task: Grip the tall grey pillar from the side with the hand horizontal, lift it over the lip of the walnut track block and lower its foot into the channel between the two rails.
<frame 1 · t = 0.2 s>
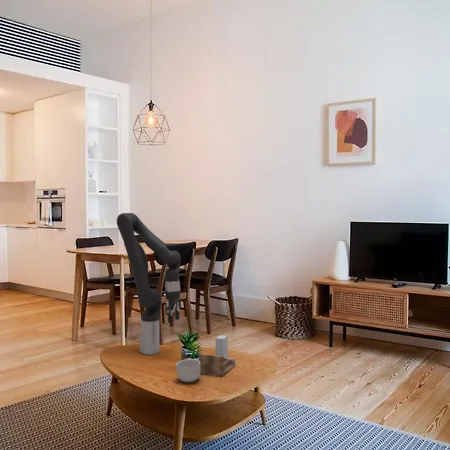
hand: (173, 321, 252), 18 cm above the table, tool pointing down, fingers open, 8 cm apart
teacup: (189, 379, 219), on the table
tall grey pillar: (221, 360, 244), on the table
track block: (217, 369, 231), on the table
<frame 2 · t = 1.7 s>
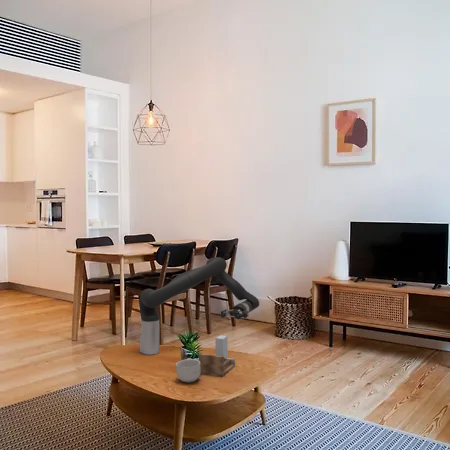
hand: (229, 316, 254), 20 cm above the table, tool horizontal, fingers open, 8 cm apart
nothing on the table moved.
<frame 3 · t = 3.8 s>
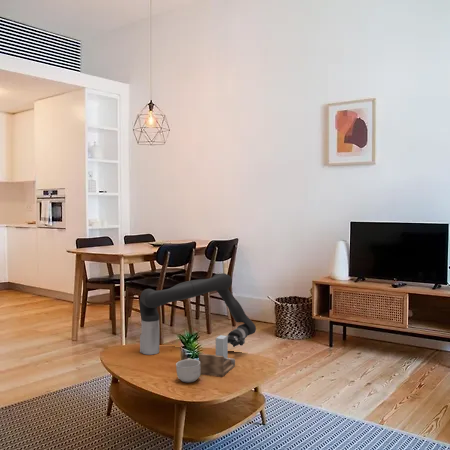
hand: (225, 344, 249), 7 cm above the table, tool horizontal, fingers open, 8 cm apart
nothing on the table moved.
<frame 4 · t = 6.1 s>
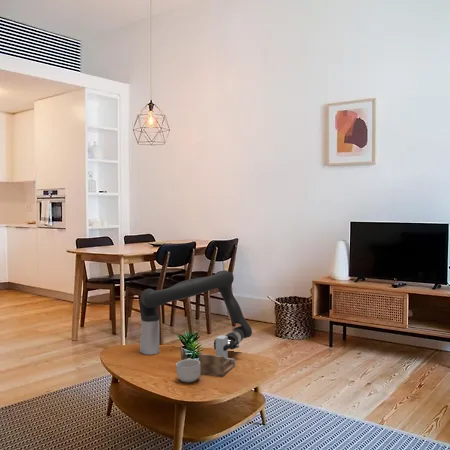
hand: (219, 348, 241), 7 cm above the table, tool horizontal, fingers closed on tall grey pillar, 4 cm apart
tall grey pillar: (221, 360, 244), on the table, touching gripper
everything else where it was.
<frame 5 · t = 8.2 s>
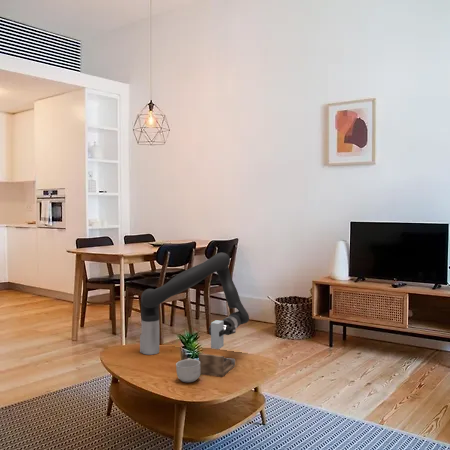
hand: (215, 333, 228), 18 cm above the table, tool horizontal, fingers closed on tall grey pillar, 4 cm apart
tall grey pillar: (217, 347, 231), point 11 cm above the table, touching gripper
everything else where it was.
when the fingers open (9 cm above the table, at t = 10.3 s): tall grey pillar drops 1 cm, resting on track block.
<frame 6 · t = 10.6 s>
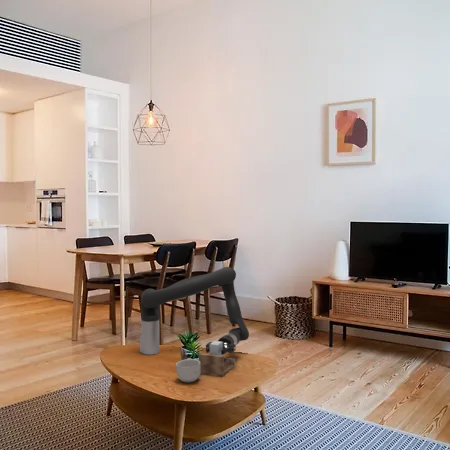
hand: (214, 351, 228), 10 cm above the table, tool horizontal, fingers open, 7 cm apart
tall grey pillar: (216, 368, 230), point 1 cm above the table, touching track block
everything else where it was.
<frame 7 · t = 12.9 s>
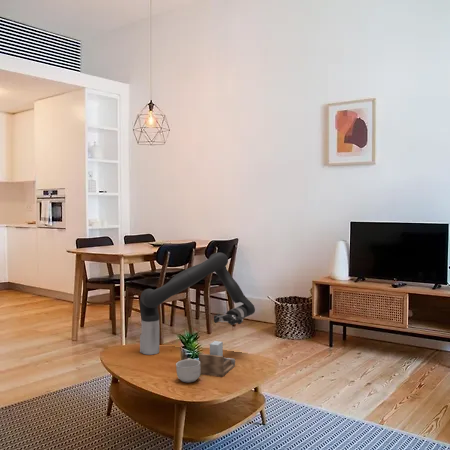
hand: (223, 321, 242), 20 cm above the table, tool horizontal, fingers open, 8 cm apart
nothing on the table moved.
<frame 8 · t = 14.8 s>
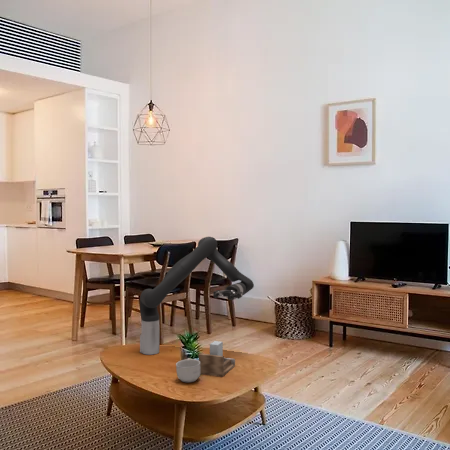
hand: (222, 296, 244), 32 cm above the table, tool horizontal, fingers open, 8 cm apart
nothing on the table moved.
at the end: tall grey pillar inside the target area on the track block (1.3 cm from its centre), point 1.0 cm above the track block's base; tall grey pillar tilted 0°; the gripper is holding nothing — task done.
